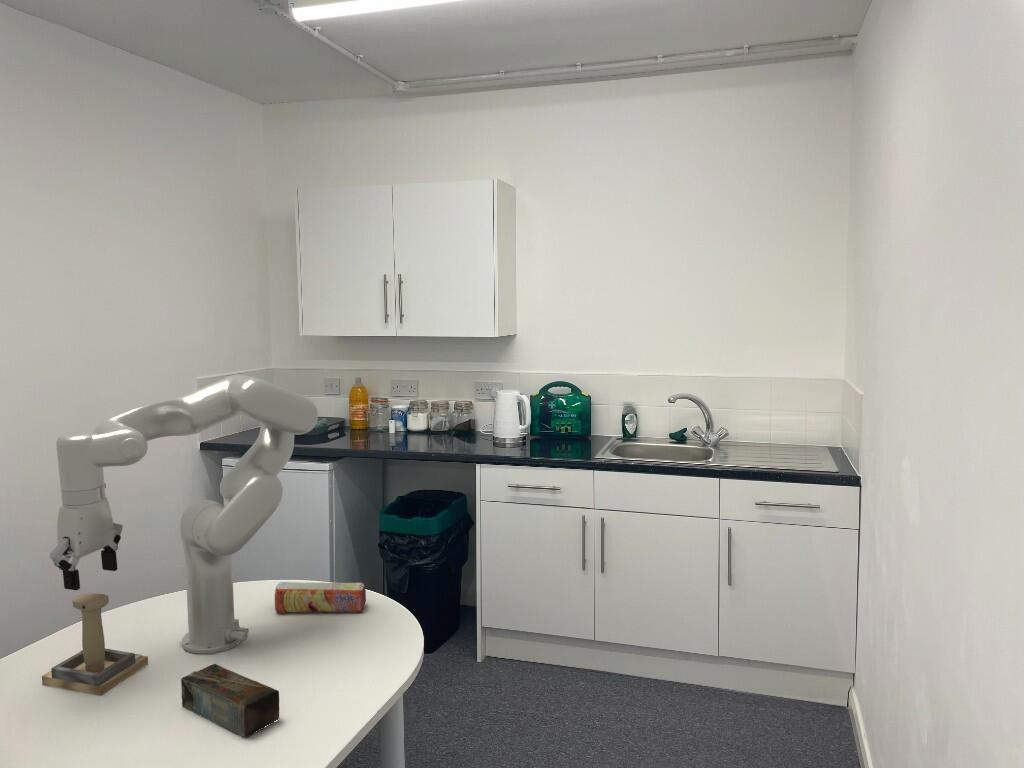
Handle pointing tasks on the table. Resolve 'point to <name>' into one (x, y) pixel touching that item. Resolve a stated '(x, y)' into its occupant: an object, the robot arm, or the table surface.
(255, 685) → the beverage carton
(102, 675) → the wooden tray
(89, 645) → the handle
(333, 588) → the snack package
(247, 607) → the table surface
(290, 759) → the table surface
